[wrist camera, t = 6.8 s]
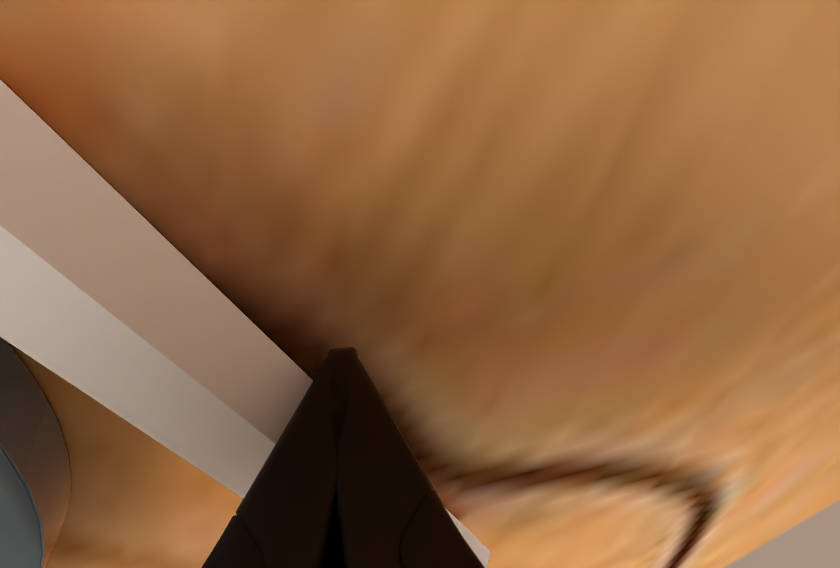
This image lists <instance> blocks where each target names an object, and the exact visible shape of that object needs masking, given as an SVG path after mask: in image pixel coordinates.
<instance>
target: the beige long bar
mask: <svg viewBox="0 0 840 568" xmlns="http://www.w3.org/2000/svg"><path fill="white" fill-rule="evenodd" d="M0 337H1V338H3V339H4V340H6V341H7V342H9V343H10V344H12V345H13V346H15V347H16V348H18V349H19V350H21V351H22V352H24V353H25V354H27V355H28V356H30V357H31V358H33V359H34V360H36V361H37V362H39V363H40V364H42V365H43V366H45V367H46V368H48V369H49V370H51V371H52V372H54V373H55V374H57V375H58V376H60V377H61V378H63V379H64V380H66V381H67V382H69V383H70V384H72V385H73V386H75V387H76V388H78V389H79V390H81V391H82V392H84V393H85V394H87V395H88V396H90V397H91V398H93V399H94V400H96V401H97V402H99V403H100V404H102V405H103V406H105V407H106V408H108V409H109V410H111V411H112V412H114V413H115V414H117V415H118V416H120V417H121V418H123V419H124V420H126V421H127V422H129V423H130V424H132V425H133V426H135V427H136V428H138V429H139V430H141V431H142V432H144V433H145V434H147V435H148V436H150V437H151V438H153V439H154V440H156V441H157V442H159V443H160V444H162V445H163V446H165V447H166V448H168V449H169V450H171V451H172V452H174V453H175V454H177V455H178V456H180V457H181V458H183V459H184V460H186V461H187V462H189V463H190V464H192V465H193V466H195V467H196V468H198V469H199V470H201V471H202V472H204V473H206V474H207V475H209V476H210V477H212V478H213V479H215V480H216V481H218V482H219V483H221V484H222V485H224V486H225V487H227V488H228V489H230V490H231V491H233V492H234V493H236V494H237V495H239V496H240V497H242V498H243V499H244V497H245V495H246V494H247V492H248V490H249V489H250V487H251V485H252V484H253V482H254V480H255V479H256V477H257V475H258V473H259V472H260V470H261V468H262V467H263V465H264V463H265V462H266V460H267V458H268V457H269V455H270V453H271V451H272V450H273V448H274V446H275V445H276V443H277V441H278V440H279V438H280V436H281V434H282V433H283V431H284V429H285V428H286V426H287V424H288V423H289V421H290V419H291V418H292V416H293V414H294V412H295V411H296V409H297V407H298V406H299V404H300V402H301V401H302V399H303V397H304V396H305V394H306V392H307V390H308V389H309V387H310V385H311V384H312V382H313V380H312V379H311V378H310V377H309V376H308V375H307V374H306V373H305V372H304V371H303V370H302V369H301V368H300V367H298V366H297V365H296V364H295V363H294V362H293V361H292V360H291V359H290V358H289V357H288V356H287V355H286V354H285V353H284V352H283V351H282V350H281V349H280V348H279V347H278V346H277V345H276V344H275V343H274V342H273V341H271V340H270V339H269V338H268V337H267V336H266V335H265V334H264V333H263V332H262V331H261V330H260V329H259V328H258V327H257V326H256V325H255V324H254V323H253V322H252V321H251V320H250V319H249V318H248V317H247V316H246V315H244V314H243V313H242V312H241V311H240V310H239V309H238V308H237V307H236V306H235V305H234V304H233V303H232V302H231V301H230V300H229V299H228V298H227V297H226V296H225V295H224V294H223V293H222V292H221V291H220V290H218V289H217V288H216V287H215V286H214V285H213V284H212V283H211V282H210V281H209V280H208V279H207V278H206V277H205V276H204V275H203V274H202V273H201V272H200V271H199V270H198V269H197V268H196V267H195V266H194V265H193V264H191V263H190V262H189V261H188V260H187V259H186V258H185V257H184V256H183V255H182V254H181V253H180V252H179V251H178V250H177V249H176V248H175V247H174V246H173V245H172V244H171V243H170V242H169V241H168V240H167V239H166V238H164V237H163V236H162V235H161V234H160V233H159V232H158V231H157V230H156V229H155V228H154V227H153V226H152V225H151V224H150V223H149V222H148V221H147V220H146V219H145V218H144V217H143V216H142V215H141V214H140V213H139V212H137V211H136V210H135V209H134V208H133V207H132V206H131V205H130V204H129V203H128V202H127V201H126V200H125V199H124V198H123V197H122V196H121V195H120V194H119V193H118V192H117V191H116V190H115V189H114V188H113V187H112V186H110V185H109V184H108V183H107V182H106V181H105V180H104V179H103V178H102V177H101V176H100V175H99V174H98V173H97V172H96V171H95V170H94V169H93V168H92V167H91V166H90V165H89V164H88V163H87V162H86V161H84V160H83V159H82V158H81V157H80V156H79V155H78V154H77V153H76V152H75V151H74V150H73V149H72V148H71V147H70V146H69V145H68V144H67V143H66V142H65V141H64V140H63V139H62V138H61V137H60V136H59V135H57V134H56V133H55V132H54V131H53V130H52V129H51V128H50V127H49V126H48V125H47V124H46V123H45V122H44V121H43V120H42V119H41V118H40V117H39V116H38V115H37V114H36V113H35V112H34V111H33V110H32V109H30V108H29V107H28V106H27V105H26V104H25V103H24V102H23V101H22V100H21V99H20V98H19V97H18V96H17V95H16V94H15V93H14V92H13V91H12V90H11V89H10V88H9V87H8V86H7V85H6V84H5V83H3V82H2V81H1V80H0ZM445 509H446V508H445ZM446 511H447V512H448V514H449V515H450V517H451V519H452V520H453V522H454V523H455V525H456V527H457V528H458V530H459V531H460V533H461V535H462V536H463V538H464V539H465V541H466V542H467V543H468V545H469V546H470V548H471V549H472V550H473V552H474V553H475V554H476V556H477V557H478V559H479V560H480V561H481V563H482V564H483V566H484V567H485V568H487V566H488V561H489V557H490V552H491V551H490V550H489V549H488V548H486V547H485V546H484V545H483V544H482V543H481V542H480V541H479V540H478V539H477V538H476V537H475V536H474V535H473V534H472V533H471V532H470V531H469V530H468V529H467V528H466V527H465V526H464V525H463V524H462V523H461V522H459V521H458V520H457V519H456V518H455V517H454V516H453V515H452V514H451V513H450V512H449V511H448V510H447V509H446Z"/></svg>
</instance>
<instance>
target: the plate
mask: <svg viewBox="0 0 840 568" xmlns="http://www.w3.org/2000/svg"><path fill="white" fill-rule="evenodd" d="M70 492H71V479H70V466H69V455H68V452H67V448H66V445H65V442H64V439H63V435H62V432H61V429H60V426H59V422H58V420H57V418H56V416H55V414H54V412H53V410H52V408H51V407H50V405H49V403H48V401H47V399H46V397H45V395H44V393H43V391H42V390H41V388H40V386H39V384H38V382H37V381H36V380H35V378H34V377H33V376H32V374H31V373H30V372H29V370H28V369H27V368H26V366H25V365H24V363H23V362H22V361H21V359H20V358H19V357H18V355H17V354H16V353H15V351H14V350H13V349H12V347H11V346H10V345H9V343H8V342H7V341H6V340H4V339H3V338H1V337H0V568H46V565H47V563H48V560H49V558H50V555H51V553H52V550H53V548H54V545H55V543H56V540H57V538H58V535H59V533H60V530H61V528H62V525H63V523H64V520H65V518H66V515H67V510H68V504H69V498H70Z"/></svg>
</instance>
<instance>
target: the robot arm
mask: <svg viewBox="0 0 840 568" xmlns="http://www.w3.org/2000/svg"><path fill="white" fill-rule="evenodd" d="M236 514H237V516H236V515H235V516H233V517H232V519H231V520H230V522H229V524H228V526H227V527H226V529H225V531H224V532H223V534H222V536H221V537H220V539H219V541H218V542H217V544H216V546H215V547H214V549H213V550H212V552H211V554H210V555H209V557H208V558H207V560H206V561H205V563H204V565H203V566H202V568H485V567H484V566H483V564H482V563H481V561H480V560H479V559H478V557H477V556H476V554H475V553H474V552H473V550H472V549H471V548H470V546H469V545H468V543H467V542H466V541H465V539H464V538H463V536H462V535H461V533H460V531H459V530H458V528H457V527H456V525H455V523H454V522H453V520H452V519H451V517H450V515H449V514H448V512H447V511H446V509H445V507H444V505H443V504H442V502H441V500H440V498H439V497H438V495H437V493H436V492H435V491H434V490H433V487H432V485H431V483H430V482H429V480H428V478H427V476H426V475H425V473H424V471H423V469H422V468H421V466H420V464H419V462H418V461H417V459H416V457H415V456H414V454H413V452H412V450H411V449H410V447H409V445H408V443H407V442H406V440H405V438H404V436H403V435H402V433H401V431H400V429H399V428H398V426H397V424H396V422H395V421H394V419H393V417H392V416H391V414H390V412H389V410H388V409H387V407H386V405H385V403H384V402H383V400H382V398H381V396H380V395H379V393H378V391H377V389H376V388H375V386H374V384H373V382H372V381H371V379H370V377H369V375H368V374H367V372H366V370H365V369H364V367H363V365H362V363H361V362H360V360H359V358H358V355H357V350H356V349H355V348H354V347H347V348H337V349H331V350H330V351H329V352H328V357H327V358H326V360H325V362H324V363H323V365H322V367H321V368H320V370H319V372H318V374H317V375H316V377H315V379H314V380H313V382H312V384H311V385H310V387H309V389H308V390H307V392H306V394H305V396H304V397H303V399H302V401H301V402H300V404H299V406H298V407H297V409H296V411H295V412H294V414H293V416H292V418H291V419H290V421H289V423H288V424H287V426H286V428H285V429H284V431H283V433H282V434H281V436H280V438H279V440H278V441H277V443H276V445H275V446H274V448H273V450H272V451H271V453H270V455H269V457H268V458H267V460H266V462H265V463H264V465H263V467H262V468H261V470H260V472H259V473H258V475H257V477H256V479H255V480H254V482H253V484H252V485H251V487H250V489H249V490H248V492H247V494H246V495H245V497H244V499H243V501H242V502H241V504H240V506H239V507H238V509H237V511H236Z"/></svg>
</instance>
